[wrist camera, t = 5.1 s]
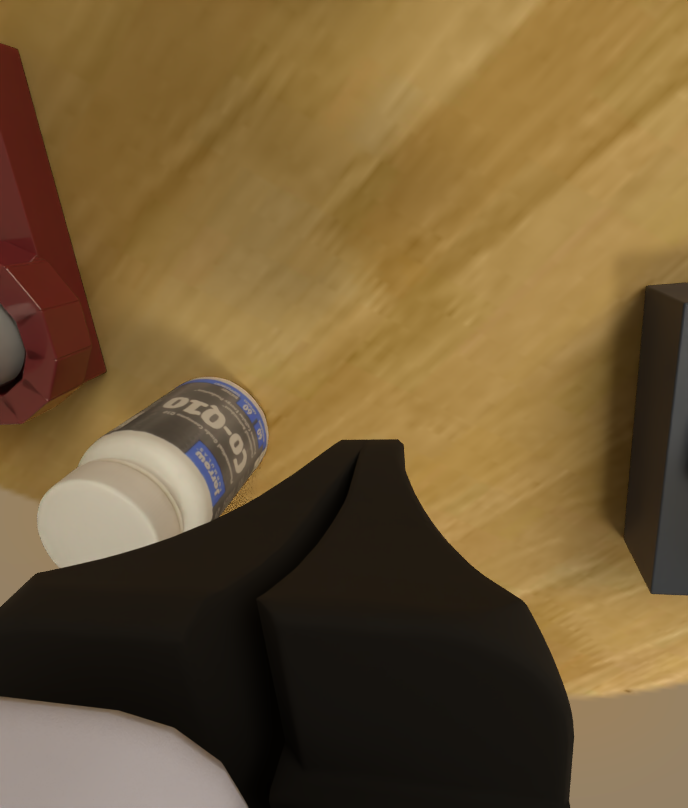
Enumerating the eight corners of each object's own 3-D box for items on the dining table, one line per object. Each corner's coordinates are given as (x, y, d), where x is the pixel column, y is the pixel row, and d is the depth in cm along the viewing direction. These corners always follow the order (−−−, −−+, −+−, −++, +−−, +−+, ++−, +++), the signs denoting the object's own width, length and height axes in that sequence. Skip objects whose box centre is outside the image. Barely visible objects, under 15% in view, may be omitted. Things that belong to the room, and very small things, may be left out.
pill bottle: (292, 425, 22) (205, 548, 14) (231, 493, 24) (124, 634, 16) (203, 350, 21) (64, 435, 14) (148, 426, 23) (-2, 537, 16)
